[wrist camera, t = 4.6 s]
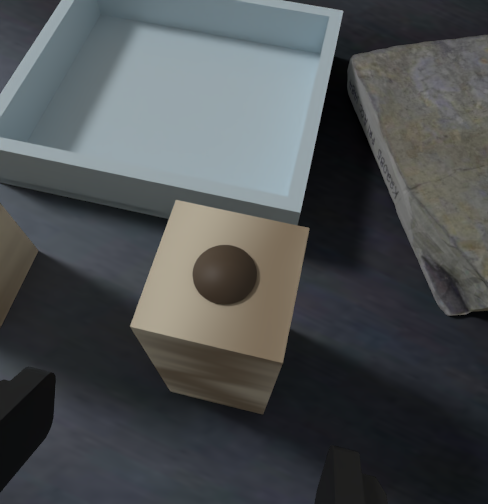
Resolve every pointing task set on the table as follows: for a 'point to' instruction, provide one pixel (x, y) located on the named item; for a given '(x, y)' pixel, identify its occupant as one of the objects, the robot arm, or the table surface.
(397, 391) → the table surface
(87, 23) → the tray
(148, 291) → the block
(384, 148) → the fossil
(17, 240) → the block
